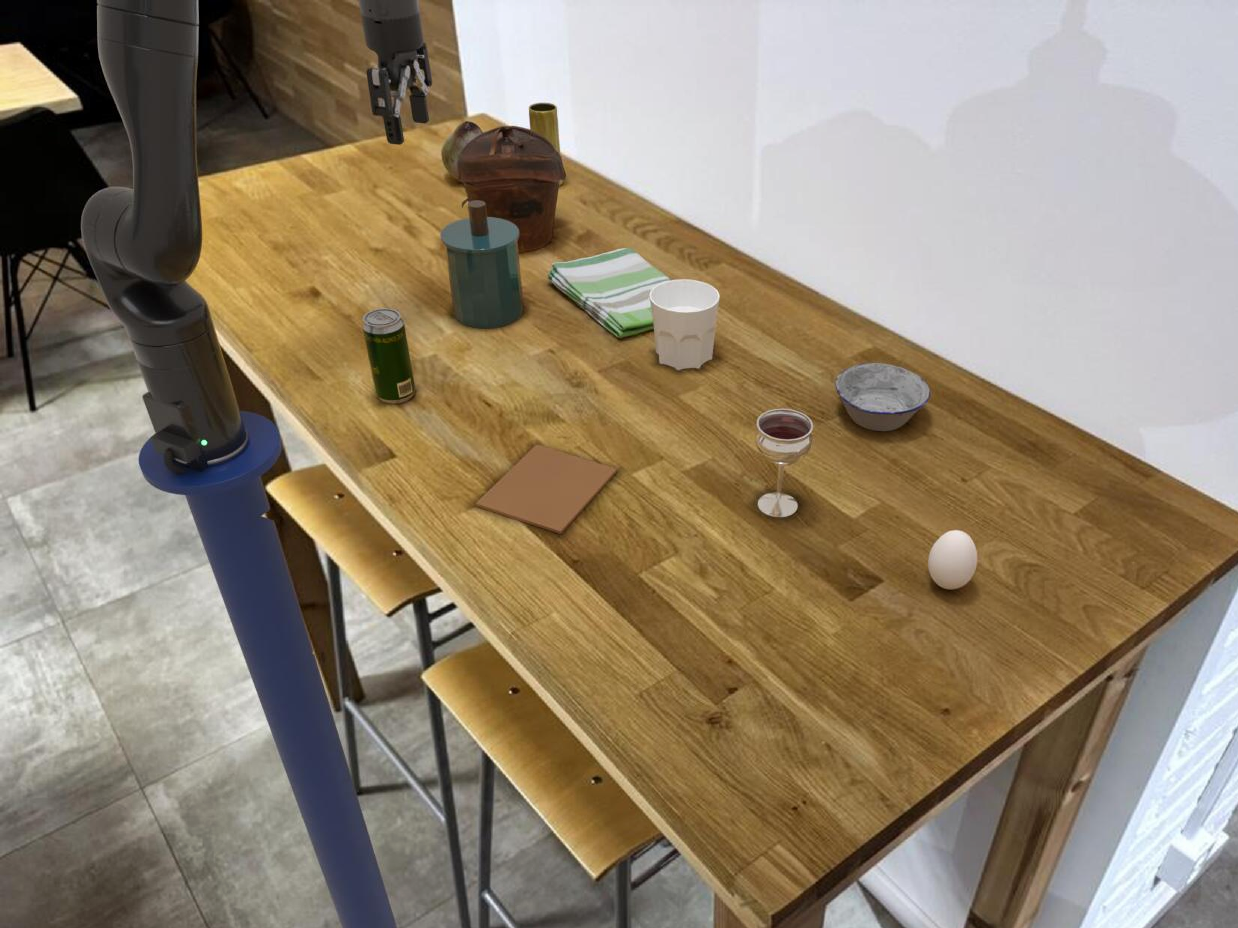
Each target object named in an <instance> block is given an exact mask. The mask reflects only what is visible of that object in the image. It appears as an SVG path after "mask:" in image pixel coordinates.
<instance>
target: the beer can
mask: <svg viewBox="0 0 1238 928" xmlns="http://www.w3.org/2000/svg"><path fill="white" fill-rule="evenodd" d="M361 327H362V333H363V337H364V342H365V347H366V352H367V353H366V354H367V357H368V362H369V367H370V371H371V376H372V381H373V388H374V391H375V395H376V397H378V399H379V400H380V401H381V402H383V403H385V404H389V405H396V404H398V405H399V404H402V403H406V402H408V401H409V400H411V399H412V398H413V396H414V395H415V393H416V383H415V379H414V373H413V367H412V361H411V355H410V349H409V344H408V343H409V342H408V338H407V332H406V327H405V321H404V319H403V318H402V314H401V313H400V312H399V311H398V310H396V309H393V308H377V309H373V310H370V311H368V312H366V313H365V314H364V315H363V317H362V325H361Z"/></svg>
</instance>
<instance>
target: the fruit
mask: <svg viewBox="0 0 1238 928" xmlns="http://www.w3.org/2000/svg"><path fill="white" fill-rule="evenodd" d="M482 133H484V132H483V130H482V129H481V128H480V126H479V125H478V124H477V123H475V122H473V121H468V120H466V121H465V120H464V121H461V122H460V124H458V125H457V126H456V127H455V128H454V130H453V132H452V133H451V135H449V136H448V137H446V139H445V141H444V143H443V145H442V148H441V150H440V151H441V153H440V156H441V161H442V163H443V166H444V168H445V170H446V171H447V172H448V173H449V176H451V177H452V178H453V179H454V180H456V181H458V182H460V183H463V181H460V180H459V179H458V176H457V158H458V155H459V154H460V152H461V151H462V149H464V147H465V146H466V145H467V144H468V143H469V142H470V141H471V140H473V139H474V138H475V137H477V136H478V135H480V134H482Z"/></svg>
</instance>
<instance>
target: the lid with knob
mask: <svg viewBox="0 0 1238 928" xmlns="http://www.w3.org/2000/svg"><path fill="white" fill-rule="evenodd" d="M467 212H468V217H466V218H461V219H458V220H455V221H453V222H451V223H449V224H447V225H445V226H444V227H443V228H442V229H441V231H440V234H439V237H440V238H439V239H440V241H441V243H442V244H443V245H444V247H445V246H446V247H448V248H450V249H452V250H455V251H458V252H464V253H490V252H495V251H499V250H503V249H505V248H508V247H510V246H512V245H513V244H514V243H516V242H517V241H518V239H519V236H520V234H519V229H518V227H517V226H516V225H515V224H513V223H512V222H510V221H507V220H504V219H500V218H494V217H487V212H486V203H485V202H484V201H480V200H474V201H471V202H469V203H468V202H467Z"/></svg>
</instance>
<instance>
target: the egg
mask: <svg viewBox="0 0 1238 928" xmlns="http://www.w3.org/2000/svg"><path fill="white" fill-rule="evenodd" d="M927 567H928V568H927V569H928V572H929V575H930V577H931V579H932V580H933V582H934V583H935V584H936V585H937V586H939V587H941V588H942V589H945V590H956V589H960V588H962V587H964V586H965V585H967V584H968V583H969V582H970V581H971V580H972V578H973V576H974V575H975V573H976V570H977V567H978V551H977V548H976V544H975V543H974V541H973V538H971V536H970V535H969V534H968V533H966V532H965V531H963V530H959V529H954V530H949V531H946V532H945V533H943V534H942V535H941V536H940V537H939V538H938V539H936V541H935V542H934V543H933V545H932V547H931V549H930V551H929V555H928V559H927Z"/></svg>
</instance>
